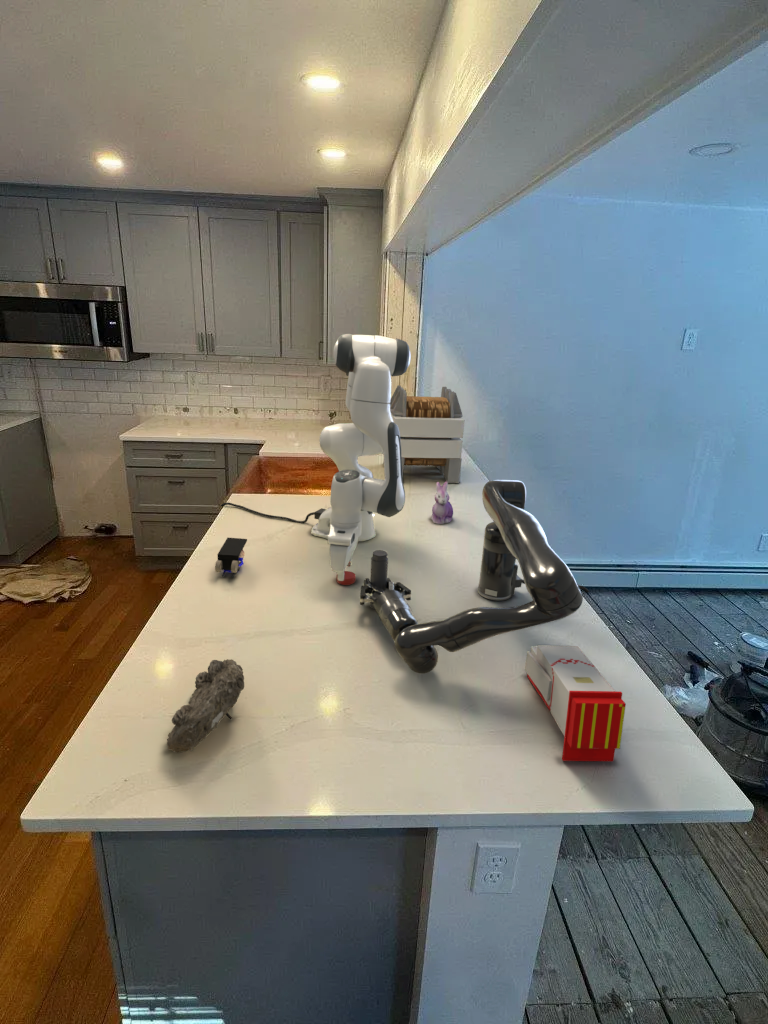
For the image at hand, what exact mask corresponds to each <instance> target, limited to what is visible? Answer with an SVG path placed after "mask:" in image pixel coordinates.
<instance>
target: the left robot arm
mask: <svg viewBox="0 0 768 1024" xmlns="http://www.w3.org/2000/svg"><path fill="white" fill-rule="evenodd" d="M332 354H333V361H334V363H335V366H336V367H337V369H338V370H339V371H341V372H343V373H345V375H346V376H347V385H346V393H345V394H346V395H345V406H346V409H347V410H348V411H349V414H350V420H351V421H352V422H348V423H346V422H344V423H343V422H342V423H334V424H331V425H327V426H324V427H323V428H322V430H321V432H320V434H319V439H318V441H319V446H320V449H321V450H322V452H323V454H325V455H326V456H327V457H328V458H330V459H331V460H332V462H334V464H335V465H336V467H337V470H338V471H337V472H335V473H334V475H333V477H332V481H331V486H330V497H329V499H330V501H329V502H330V503H329V504H330V506H329V507H328V508H319V509H318V510H316V511H313V512H310V513H308V514H307V515H306V516H305V519H304V520H296V519H293V518H290V517H286V516H279V515H273V514H272V515H271V514H266V513H263V512H259V511H257V510H254V509H251V508H248V507H246V506H243V505H240V504H236V503H232V502H223V503H222V504H220V507H225V506H231V507H235V508H239V509H242V510H245V511H247V512H249V513H253V514H256V515H259V516H262V517H265V518H266V517H267V518H270V519H279V520H285V521H290V522H293V523H297V524H306V523H307V522H308V521H309V518H310V517H311V516H313V515H314V517H313V518H314V519H315V520H318V521H317V523H315V524H314V525H313V526H312V528H311V530H310V533H311V536H315V537H319V538H323V539H326V540H327V544H328V545H329V562H330V563H329V566H330V569H331V571H332V572H335V573H336V576H337V575H338V577H337V579H338V581H343V580H344V578H345V573H344V571H346V569H347V567H349V568H350V567H351V566H352V564H353V563H352V562H353V555H354V552H355V550H356V548H357V546H358V543H359V542H365V541H368V540H372V539H373V538H375V537H376V535H377V532H376V528H375V523H374V517H375V514H377V515H381V516H384V517H387V518H391V517H394V516H396V515H397V514H399V513H400V512H401V511H403V509H404V507H405V502H406V492H405V486H404V485H405V484H404V479H403V477H404V476H403V475H402V456H401V440H400V432H399V428H398V426H397V425H396V424H395V423H394V422H393V419H392V416H391V411H390V403H391V398H392V377H399V376H400V377H401V376H403V375H405V374H406V372H407V370H408V368H409V366H410V363H411V357H412V356H411V349H410V346H409V344H408V342H407V341H405V340H403V339H401V338H391V337H388V336H384V335H377V334H374V335H373V334H372V335H371V334H352V333H344V334H341V335H339V337H337V340H336V342H335V343H334V345H333V353H332ZM380 455H383V463H384V464H383V472H384V479H382V478H376V477H374V474H373V472H372V471H371V469H369V468H368V467H366V466H364V465H362V464H359V462H358V459H359V457H371V456H380Z"/></svg>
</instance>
